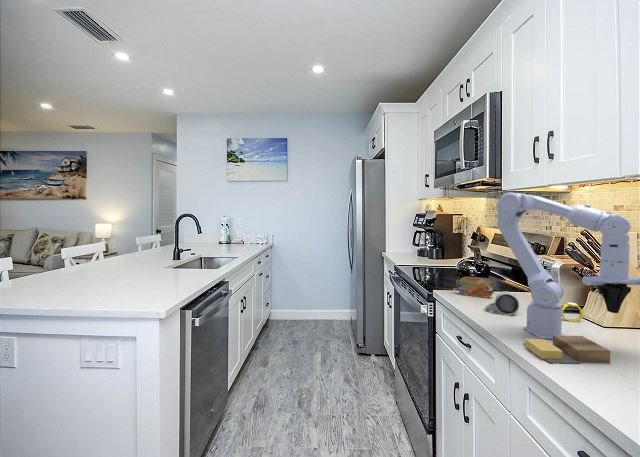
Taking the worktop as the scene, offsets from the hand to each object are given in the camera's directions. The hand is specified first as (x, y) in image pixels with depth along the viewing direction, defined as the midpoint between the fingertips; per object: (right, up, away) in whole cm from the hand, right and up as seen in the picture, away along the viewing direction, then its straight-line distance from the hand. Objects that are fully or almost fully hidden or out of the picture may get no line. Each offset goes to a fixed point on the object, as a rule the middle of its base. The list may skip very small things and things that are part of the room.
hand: (612, 312), depth 91 cm
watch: (+7, -9, +24) cm, 27 cm away
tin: (-10, -8, +58) cm, 60 cm away
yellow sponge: (-20, -9, -2) cm, 22 cm away
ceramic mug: (-11, -9, +34) cm, 37 cm away
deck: (-11, -10, -3) cm, 15 cm away
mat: (-18, -10, -2) cm, 21 cm away
